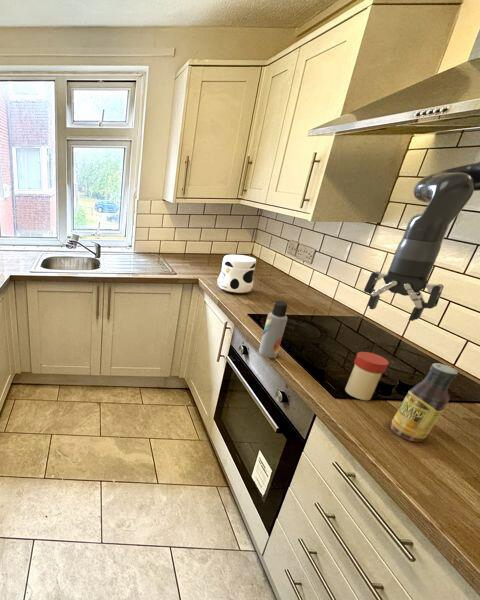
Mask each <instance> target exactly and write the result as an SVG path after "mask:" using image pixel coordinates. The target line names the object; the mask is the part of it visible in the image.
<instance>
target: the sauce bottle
mask: <svg viewBox="0 0 480 600" xmlns="http://www.w3.org/2000/svg"><path fill="white" fill-rule="evenodd" d="M458 374H459V371H458V370H457V369H456V368H454V367H452V366H450V365H447V364H443V363H439V362H438V363H437V362H435V363H431V365H430V367H429V371H428V372H427V374H426V376H425V377H424V379H422V380H420V382H418V383H417V384H416V385H414V386H413V387H412V388H410V389H409V390H408V392H407V393H406V395H405V397H404V398H403V400H402V402H401V403H400V405H399V407H398V409H397V410H396V412H395V414H394V416H393V417H392V419H391V423H390V425H389V426H390V428H391V431H392V432H393V433H395V434H396V435H397V436H400V437H401V438H402V439H404V440H405V441H410V442H414V443H421V442H422V441H424V439H426V438H427V436H428V435H429V434H430V432H431V430H432V429H433V428H434V426H435V424H436V423H437V421H438V420H439V418H440V416H441V415H442V413H443V412H444V410H445V407H446V406H447V404H448V403H449V401H450V394H449V388H450V385H451V383H452V381H453V380H454V379H456V378H457V376H458Z"/></svg>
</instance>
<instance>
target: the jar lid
mask: <svg viewBox="0 0 480 600" xmlns="http://www.w3.org/2000/svg"><path fill="white" fill-rule="evenodd" d="M353 363H354V365H355V364H356V365H357V366H358V367H360V368H362V369H364V370H366V371H369V372H373V373H382V374H384V373H385V372H386V370H387V368H388V367H389V363H390V362H389V360H387V358H385V357H384V356H382V355H379V354H376V353H373V352H369V351H359V352H357V354H356V356H355V357H354V360H353Z"/></svg>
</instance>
